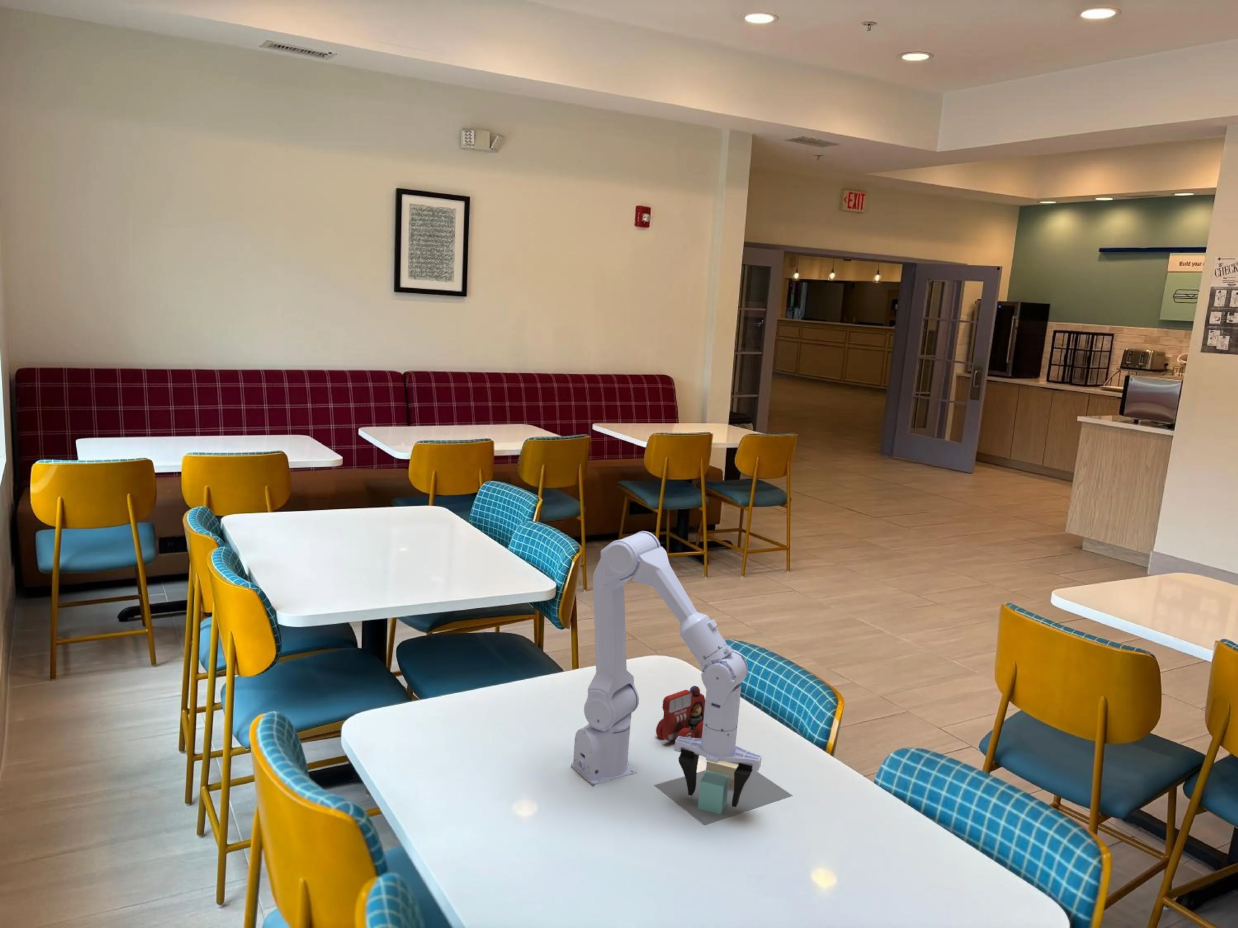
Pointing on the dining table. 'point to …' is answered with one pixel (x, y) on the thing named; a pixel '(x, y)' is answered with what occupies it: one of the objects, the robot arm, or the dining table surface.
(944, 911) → the dining table surface
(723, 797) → the teal brick
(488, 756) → the dining table surface
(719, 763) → the base block
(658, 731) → the toy fire truck
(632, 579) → the robot arm
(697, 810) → the mat
